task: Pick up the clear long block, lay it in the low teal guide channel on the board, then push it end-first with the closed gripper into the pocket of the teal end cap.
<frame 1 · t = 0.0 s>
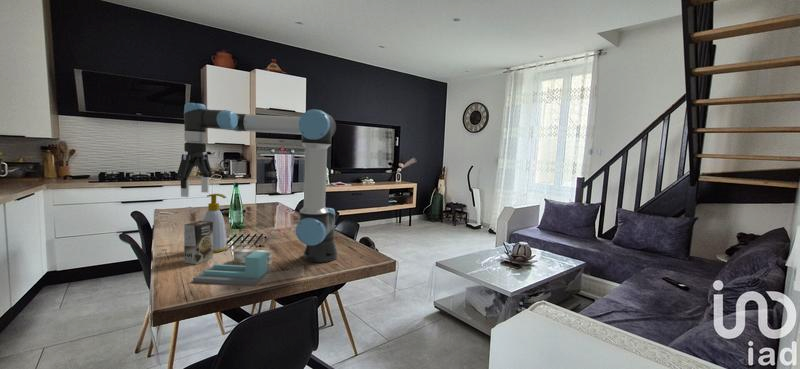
hand: (195, 194, 140), 28 cm above the table, tool pointing down, fingers open, 13 cm apart
coffee box: (199, 260, 143), on the table
clear long block: (253, 262, 145), on the table
cap board: (233, 276, 128), on the table
soap bottle: (214, 250, 158), on the table
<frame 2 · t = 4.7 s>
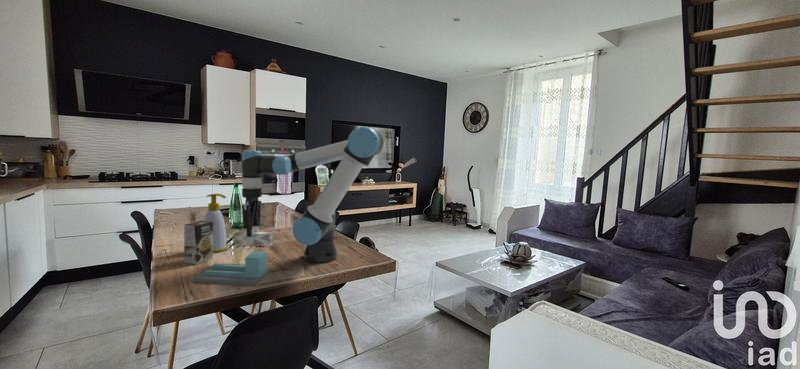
hand: (252, 242, 144), 8 cm above the table, tool pointing down, fingers closed on clear long block, 3 cm apart
clear long block: (253, 244, 144), point 8 cm above the table, touching gripper
everything else where it was.
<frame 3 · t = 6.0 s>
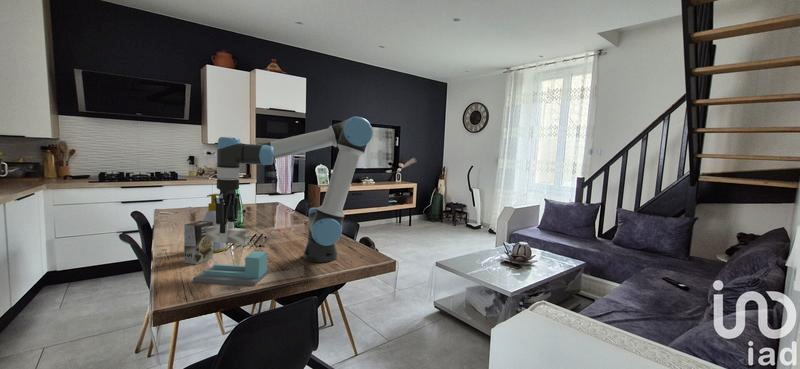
hand: (226, 239, 129), 13 cm above the table, tool pointing down, fingers closed on clear long block, 3 cm apart
clear long block: (228, 241, 130), point 13 cm above the table, touching gripper
everything else where it was.
when the fingers open (4 cm above the table, at t = 7.8 s): clear long block drops 2 cm, resting on cap board.
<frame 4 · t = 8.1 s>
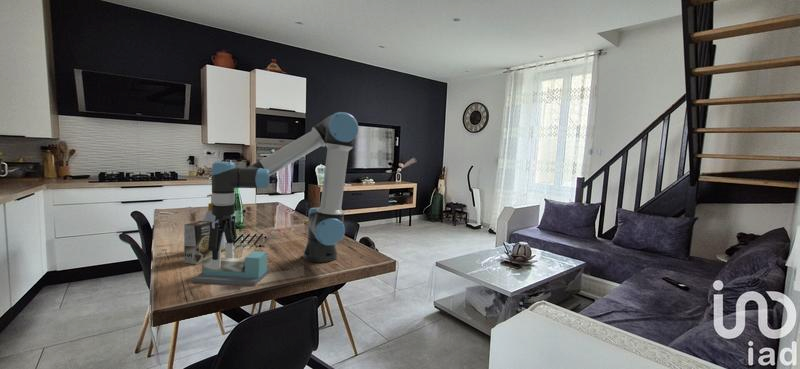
hand: (223, 263, 127), 5 cm above the table, tool pointing down, fingers open, 8 cm apart
clear long block: (224, 272, 128), point 1 cm above the table, touching cap board
everything else where it was.
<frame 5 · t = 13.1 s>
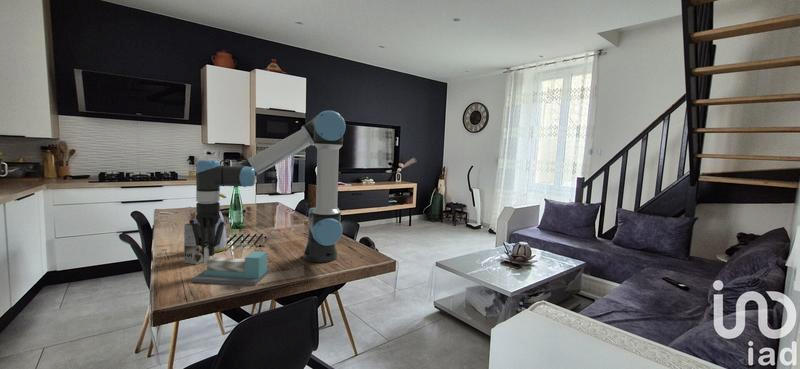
hand: (208, 263, 128), 4 cm above the table, tool pointing down, fingers closed
clear long block: (229, 272, 128), point 1 cm above the table, touching cap board, gripper
everything else where it was.
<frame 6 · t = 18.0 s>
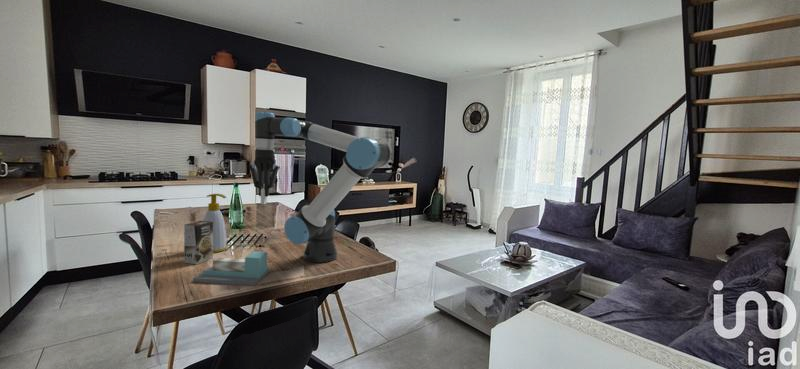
hand: (263, 203, 147), 24 cm above the table, tool pointing down, fingers closed
clear long block: (235, 273, 128), point 1 cm above the table, touching cap board
everything else where it was.
at the end: clear long block 1.3 cm from the target spot on the cap board, point 1.5 cm above the cap board's base; clear long block tilted 0°; the gripper is holding nothing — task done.
